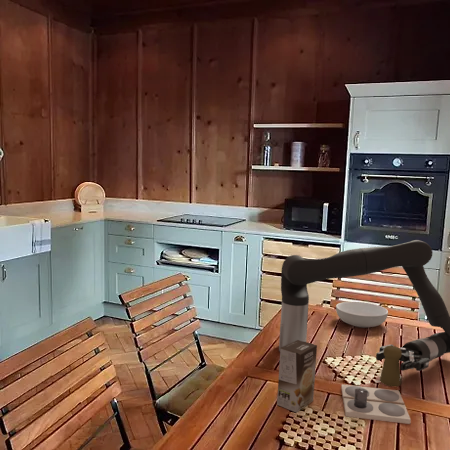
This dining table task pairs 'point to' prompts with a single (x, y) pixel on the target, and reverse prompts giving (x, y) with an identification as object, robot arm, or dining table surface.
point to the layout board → (376, 404)
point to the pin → (360, 398)
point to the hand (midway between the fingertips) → (389, 361)
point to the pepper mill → (391, 366)
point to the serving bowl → (361, 314)
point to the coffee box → (296, 375)
